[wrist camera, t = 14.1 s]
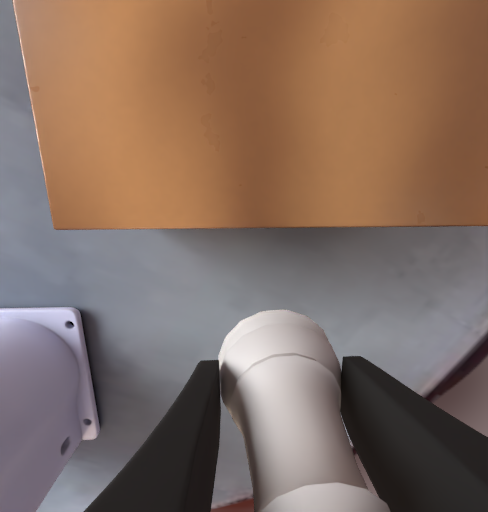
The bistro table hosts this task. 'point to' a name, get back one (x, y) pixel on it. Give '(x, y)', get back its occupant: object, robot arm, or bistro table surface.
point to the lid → (259, 112)
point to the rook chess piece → (291, 416)
